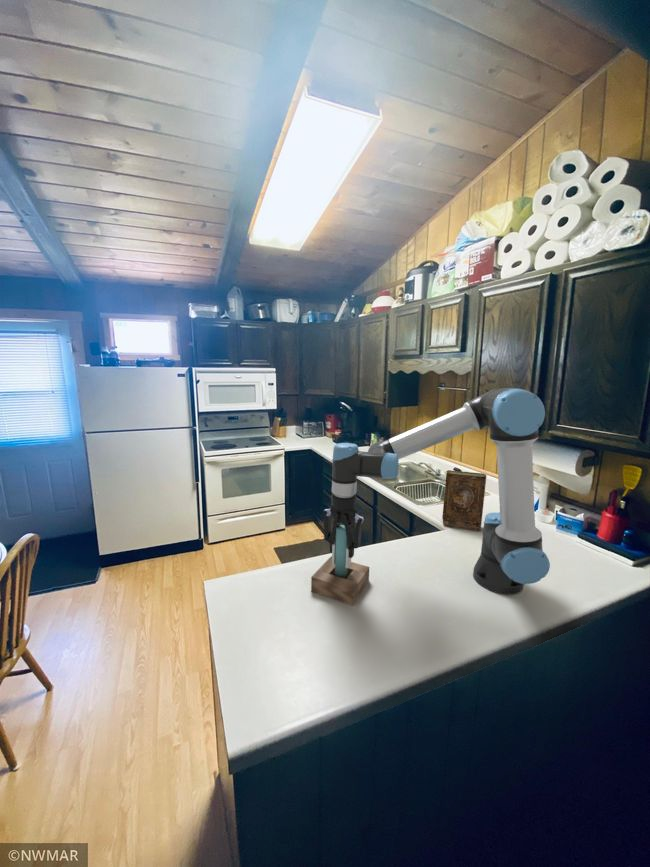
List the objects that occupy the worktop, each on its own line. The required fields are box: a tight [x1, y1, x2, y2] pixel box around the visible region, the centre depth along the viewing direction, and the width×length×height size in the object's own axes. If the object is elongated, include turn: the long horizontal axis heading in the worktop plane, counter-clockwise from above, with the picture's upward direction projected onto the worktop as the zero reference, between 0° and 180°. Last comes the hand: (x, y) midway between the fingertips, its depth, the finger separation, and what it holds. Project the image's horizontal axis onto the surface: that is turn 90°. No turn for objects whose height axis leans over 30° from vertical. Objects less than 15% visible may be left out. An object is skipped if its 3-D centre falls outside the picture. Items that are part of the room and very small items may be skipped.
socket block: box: [310, 555, 370, 606], centre depth 110 cm, size 14×14×5 cm
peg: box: [335, 524, 348, 578], centre depth 109 cm, size 4×4×16 cm
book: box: [441, 470, 487, 532], centre depth 155 cm, size 16×6×25 cm, turn 73°
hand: (341, 563), depth 109 cm, fingers closed on peg, 4 cm apart
